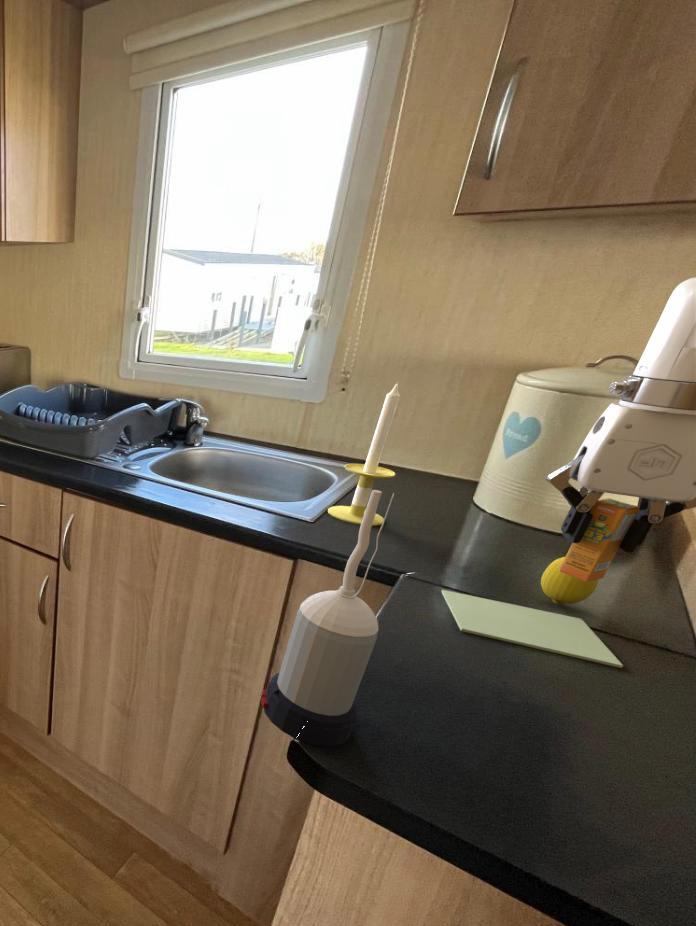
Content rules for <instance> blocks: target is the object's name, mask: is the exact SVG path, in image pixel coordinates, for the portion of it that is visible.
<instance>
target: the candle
mask: <svg viewBox="0 0 696 926" xmlns="http://www.w3.org/2000/svg"><path fill="white" fill-rule="evenodd" d="M400 398H401V394H400V392H399V381H398V380H397V381H396V383H395V384H394V386H393V387H392V389H391V391H390V392H388V393H386V396H385V398H384V403H383V406H382V409H381V412H380V415H379V418H378V422H377V425H376V428H375V431H374V434H373V438H372V441H371V443H370V447H369V450H368V453H367V457H366V460H365V463H356V462H355V463H348V464H345V465H344V468H345V470H346V471H347V472H349V473H352V474H355V475H358V476H359V480H358V482H357V486H356V488H355V492H354V495H353V498H352V501H351V505H350V506H349V505H333V506H330V507H328V508H327V513H328V514H329V515H330V516H331V517H334V518H335V519H338V520H340V521H343V522H347V523H350V524H355V525H360V526H361V523H362V520H363V517H364V514H365V511H366V508H367V504H368V501H369V498H370V495H371V493H372V490H373V486H374V483H375V479H392V478H395V477H396V475H397V474H396V472H394V471H393V470H392V469H390V468H385V467H382V466H379V464H380V461H381V458H382V455H383V451H384V448H385V445H386V442H387V439H388V435H389V433H390V430H391V426H392V423H393V420H394V417H395V414H396V410H397V408H398V405H399V402H400ZM384 518H385V517H383V516H381V515H380V514H379V513H377V512H376V513H375V517H374V520H373V523H372V527H373V526H374V527H375V526H382V524H383V521H384Z"/></svg>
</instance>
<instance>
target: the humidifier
mask: <svg viewBox="0 0 696 926" xmlns="http://www.w3.org/2000/svg"><path fill="white" fill-rule="evenodd" d="M382 493H383V492H382V491H381V490H377V489H371V493H370V496H369V499H368V502H367V505H366V508H365V510H366V511H365V514H364V517H363V520H362V523H361V525H360V527H359V531H358V537H357V544H356V546H355V547H354V549H353V551H352V553H351V554H350V556H349V558H348V559H347V562H346V565H345V568H344V572H343V578H342V585H341V586H339V588H338V589H336V590H325V591H320V592H316V593H313V594H311V595H310V596H308V597H307V598H306V599H305V600H303V601H302V602H301V603H300V607H299V608H298V610H297V613H296V616H295V618H294V619H295V620H294V623H293V626H292V630H291V633H290V636H289V640H288V643H287V646H286V651H285V653H284V657H283V660H282V662H281V663H282V664H281V667H280V671H279V672H277V673H275V675H273V676H272V677H271V679H270V680H269V682H268V685H267V688H266V689H265V688H263V690H262V693H261V696H260V702H261V706H262V709H263V712H264V714H265V716H266V717H267V718H268V720H269V721H270V723H272V724H273V725H274V726H275V727H276V728H277V729H278V730H280V731H281V732H283V733H285V734H286V735H288V736H290V737H291V738H293V739H295V740H298V741H300V742H303V743H306V744H309V745H313V746H317V747H322V748H323V747H325V748H326V747H338V746H340V745H343V744H345V743H346V742H347V741H348V739H349V738H350V736H351V734H352V731H353V728H354V726H355V723H356V720H357V712H358V711H357V710H358V709H357V705H356V703H355V698H356V696H357V693H358V690H359V688H360V685H361V682H362V680H363V676H364V674H365V671H366V668H367V666H368V664H369V661H370V658H371V655H372V653H373V650H374V647H375V644H376V642H377V639H378V632H379V630H380V629H379V621H378V618H377V616H376V614H375V613H374V611H373V610H372V608H371V607H370V606H369V605H368V603H366V602H365V600H363V599H361V598H360V597H358V596H357V595H358V594H359V593H360V592H361V591H362V588H363V586H364V583H365V581H366V578H367V576H368V573H369V569H370V567H371V564H372V562H373V560H374V558H375V557H376V555H377V552H378V550H379V537H380V534H381V532H382V529H383V528H384V526H385V522H386V520H387V516H388V513H389V510H390V508H391V504H392V501H393V499H394V496H395V493H394V492H393V493H392V496H391V498H390V501H389V504H388V507H387V510H386V513H385V514H384V515H385V516H384V517H383V518H384V521H383V524H381V526H380V528H379V530H378V533H377V536H376V548H375V551H374V553H373V555H372V557H371V558H370V561H369V563H368V566H367V568H366V571H365V574H364V577H363V580H362V583H361V585H360V587H359V589H358V591H357V592H356V590H355V583H356V576H357V571H358V567H359V565H360V562H361V561H362V558H363V557H364V556H365V554H366V552H367V550H368V548H369V544H370V537H371V530H372V527H373V526H372V523H373V520H374V517H375V513H376V514H377V509H378V506H379V502H380V500H381V497H382ZM307 721H308V722H307ZM303 726H305V727H304V728H303ZM302 728H303V729H302ZM299 733H300V734H299ZM298 734H299V736H298ZM297 736H298V737H297ZM296 737H297V738H296Z"/></svg>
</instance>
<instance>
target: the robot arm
mask: <svg viewBox="0 0 696 926" xmlns="http://www.w3.org/2000/svg"><path fill="white" fill-rule="evenodd" d="M608 393H609V394H616V395H617V396H618V399H619V401H618V402H611V403H610V404H609V405H608V406H607V407H606V409H605V410H604V411H603V412H602V413H601V415H600V416H599V418H598V419H597V420H596V422H595V423H594V425H593V426H592V427H591V429H590V431H589V432H588V434H587V435H586V436H585V438H584V440H583V442H582V443H581V445H580V447H579V449H578V450H577V452H576V453H575V456H574V458H573V459H572V460H571V461H569V462H568V463H566V464H564V465H563V466H561V467H560V468H558V469H556V470H555V471H553V472H552V473H549V474H548V475H546V479H545V480H546V481H547V482H548V483H549V484H550V485H552V486H553V488H555V489H556V490H557V491H558V492H559V493H560V494H561V495H562V496H563V498H564V499H565V500H566V501H567V503H568V505H569V506H570V509H569V510H568V512H567V514H566V516H565V518H564V520H563V522H562V524H561V527H560V532H562V537H564V538H565V539H566V540H567V541H569V543H571V544H572V543H579V542H580V541H581V539H582V537H583V535H584V533H585V531H586V529H587V527H588V526H589V524H590V522H591V520H592V518H593V515H592V514H591V513H589V512H590V510H591V508H592V507H593V506H594V504H595V503H596V502H597V501H598V500H601V498H602V497H603V495H604V494H605V493H607V494H613V495H619V496H627V497H633V498H634V497H635V498H638V502H637V505H636V506H639V507H640V508H639V512H638V513H637V515H636V517H635V519H634V520H633V522H632V524H631V526H630V528H629V530H628V531H627V533H626V535H625V537H624V539H623V541H622V543H621V545H620V546H619V548H620V549H621V550H622V551H624V552H625V553H630V554H632V553H634V552H635V551H636V548H637V546H640V545H642V544H643V542H644V540H645V539H646V537H647V536H648V534H649V531H650V530H651V528H652V526H653V524H659V523H661V522H662V521H663V519H666V518H668V517H671V516H673V515H676V514H679V513H681V512H683V511H685V510H690V509H691V510H692V509H694V508H696V276H694V277H691V278H688V279H685V280H683V281H682V282H681V283H678V285H677V286H676V287H675V288H674V289H673V291H672V293H671V294H670V296H669V298H668V300H667V302H666V304H665V306H664V309H663V310H662V313H661V314H660V317H659V319H658V321H657V323H656V325H655V327H654V329H653V331H652V333H651V335H650V337H649V340H648V342H647V344H646V346H645V349H644V350H643V352H642V354H641V356H640V359H639V361H638V363H637V365H636V367H635V369H634V371H633V372H632V375H628V378H627V379H626V380H622V381H618V380H617V381H616V380H614V381H613V382H611V384H610V385H609V388H608ZM571 479H572V480H573V481H576V482H578V483H580V485H579V487H578V488H576V487H574V486H573V485H572V484H571V483H570V482H569V480H571Z"/></svg>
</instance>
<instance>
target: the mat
mask: <svg viewBox="0 0 696 926" xmlns="http://www.w3.org/2000/svg"><path fill="white" fill-rule="evenodd" d="M440 592H441V594H442V596H443V598H444V601H445V602H446V604H447V606H448V608H449V610H450V612H451V615H452V617H453V618H454V621H455V622H456V625H457V626H458V628H459V630H460V632H462V633H463V632H464V633H467V634H472V635H477V636H480V637H485V638H490V639H494V640H499V641H503V642H507V643H511V644H516V645H520V646H524V647H529V648H533V649H537V650H541V651H546V652H551V653H554V654H558V655H559V654H560V655H563V656H567V657H571V658H576V659H580V660H583V661H588V662H593V663H597V664H602V665H606V666H611V667H615V668H620V669H623V667H624V664H623V663H622V662H621V661H620V660H619V659H618V658H617V657H616V656H615V654H614V653H613V652H612V651H611V650H610V649H609V648H608V647H607V646H606V644H605V643H604V642H603V641H602V640H601V639H600V637H599V636H598V635H596V633H595V632H594V631H593V630H592V629H591V628H590V627H589V626H588V624H587V623H586V622H585V621H584V620H583V619H582V618H579V617H575V616H569V615H565V614H561V613H557V612H550V611H545V610H541V609H536V608H532V607H528V606H527V607H526V606H523V605H517V604H513V603H508V602H503V601H498V600H493V599H488V598H484V597H479V596H474V595H470V594H466V593H461V592H455V591H450V590H445V589H441V591H440Z"/></svg>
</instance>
